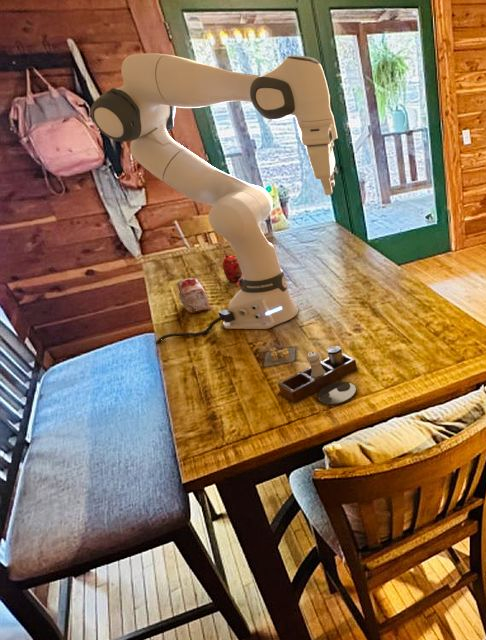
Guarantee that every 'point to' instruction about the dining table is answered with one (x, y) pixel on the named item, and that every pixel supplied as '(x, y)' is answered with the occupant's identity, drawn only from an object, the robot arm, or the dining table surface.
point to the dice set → (279, 356)
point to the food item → (193, 295)
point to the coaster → (337, 393)
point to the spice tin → (335, 356)
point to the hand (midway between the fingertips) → (330, 190)
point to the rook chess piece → (315, 364)
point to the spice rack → (317, 383)
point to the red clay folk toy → (231, 266)
